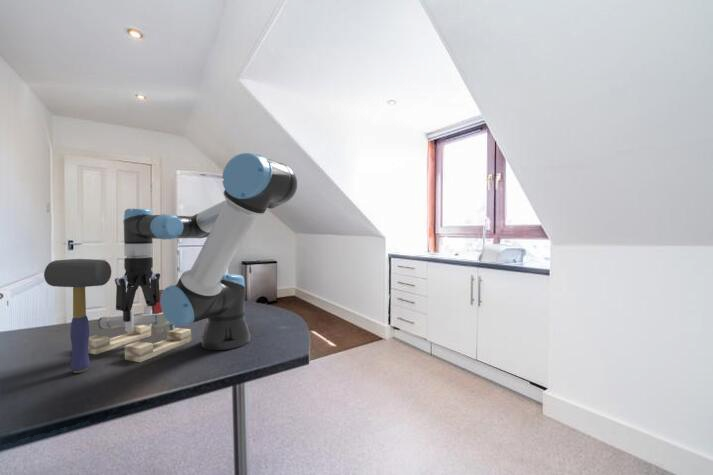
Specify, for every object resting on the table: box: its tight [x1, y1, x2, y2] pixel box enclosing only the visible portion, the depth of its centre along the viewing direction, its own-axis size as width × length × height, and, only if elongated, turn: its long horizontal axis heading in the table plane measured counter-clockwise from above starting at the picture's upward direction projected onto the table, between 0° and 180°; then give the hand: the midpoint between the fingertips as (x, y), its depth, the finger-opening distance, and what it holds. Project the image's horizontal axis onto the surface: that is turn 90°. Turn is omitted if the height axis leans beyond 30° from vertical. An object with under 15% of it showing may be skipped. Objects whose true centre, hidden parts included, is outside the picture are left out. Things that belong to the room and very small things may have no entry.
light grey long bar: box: [97, 312, 176, 334], centre depth 101 cm, size 5×7×25 cm
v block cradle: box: [88, 325, 192, 363], centre depth 101 cm, size 24×18×4 cm
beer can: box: [154, 289, 164, 314], centre depth 132 cm, size 7×7×12 cm
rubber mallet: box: [43, 258, 112, 374], centre depth 83 cm, size 12×8×30 cm, turn 98°
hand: (139, 328), depth 101 cm, fingers closed on light grey long bar, 5 cm apart
